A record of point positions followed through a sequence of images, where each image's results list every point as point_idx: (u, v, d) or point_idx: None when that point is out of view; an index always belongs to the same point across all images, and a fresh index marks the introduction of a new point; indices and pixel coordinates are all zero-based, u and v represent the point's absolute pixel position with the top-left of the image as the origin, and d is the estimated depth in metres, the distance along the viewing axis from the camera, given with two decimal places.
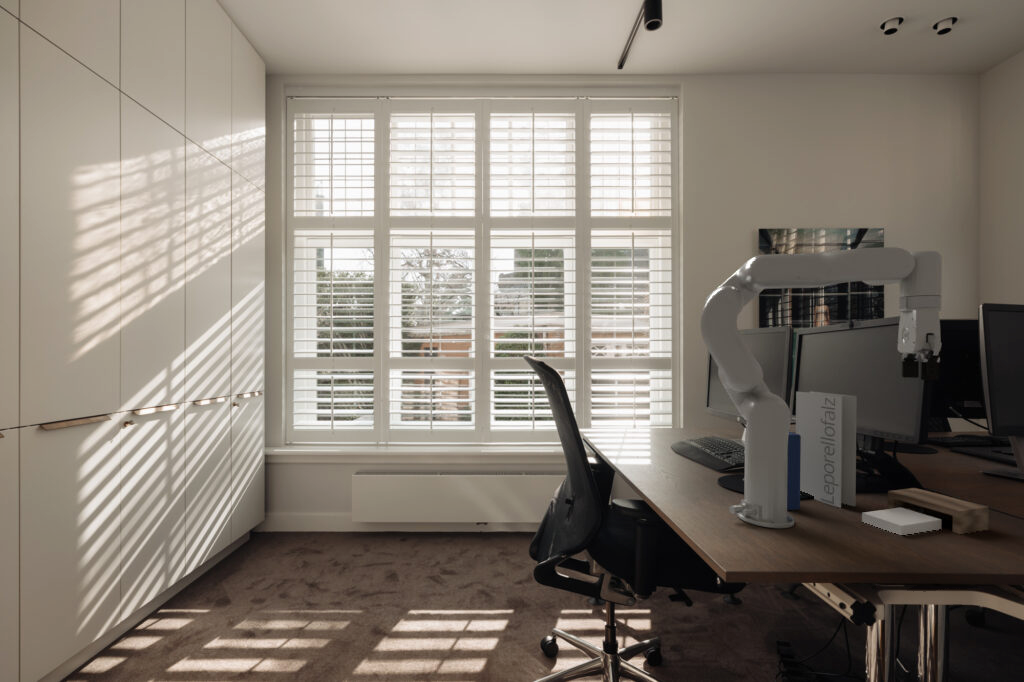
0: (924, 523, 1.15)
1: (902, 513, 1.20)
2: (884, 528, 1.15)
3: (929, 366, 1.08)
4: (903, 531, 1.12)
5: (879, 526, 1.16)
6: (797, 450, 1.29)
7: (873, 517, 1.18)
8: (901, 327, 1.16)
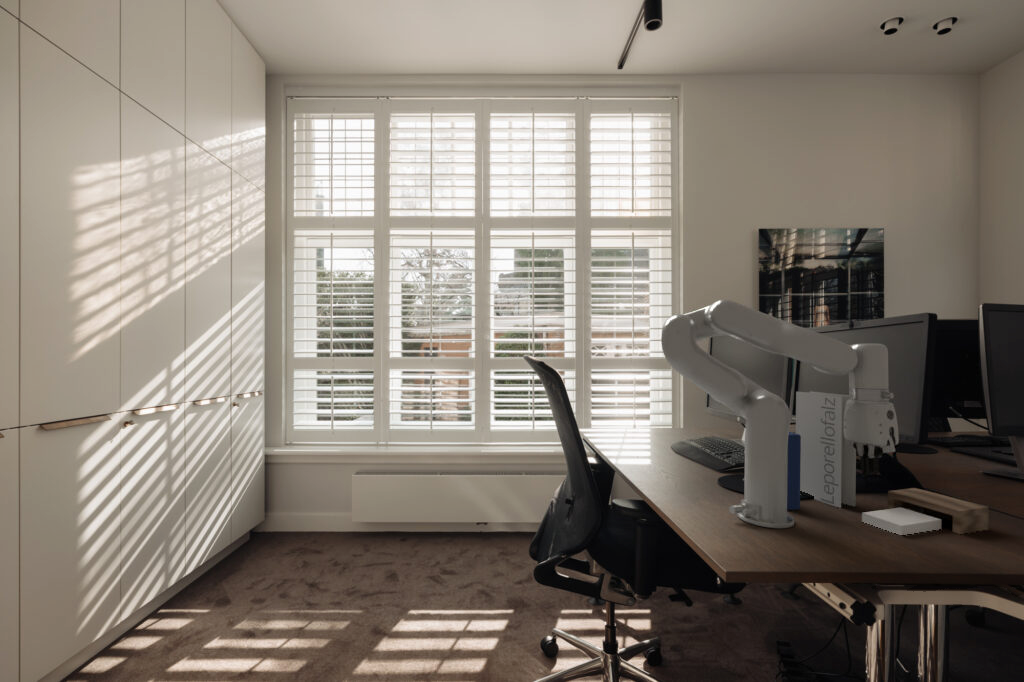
0: (924, 523, 1.15)
1: (902, 513, 1.20)
2: (884, 528, 1.15)
3: None
4: (903, 531, 1.12)
5: (879, 526, 1.16)
6: (797, 450, 1.29)
7: (873, 517, 1.18)
8: None
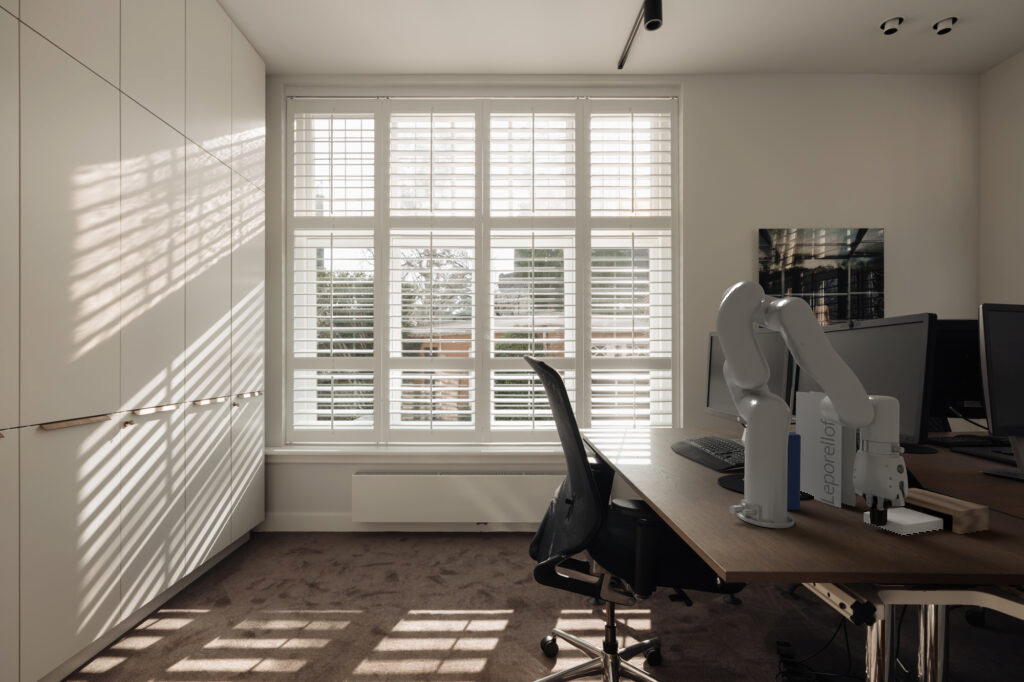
0: (926, 523, 1.15)
1: (904, 513, 1.21)
2: (886, 528, 1.16)
3: None
4: (904, 530, 1.12)
5: (881, 526, 1.17)
6: (797, 450, 1.29)
7: None
8: None
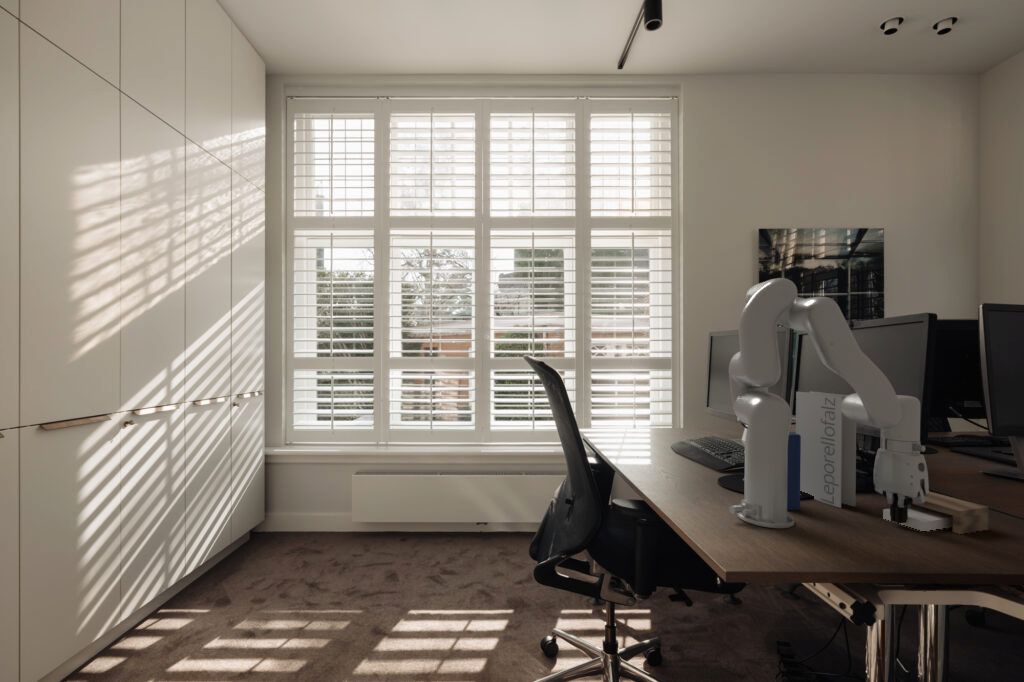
0: (945, 519, 1.17)
1: (922, 510, 1.23)
2: (905, 524, 1.18)
3: None
4: (924, 527, 1.15)
5: None
6: (797, 450, 1.29)
7: None
8: None
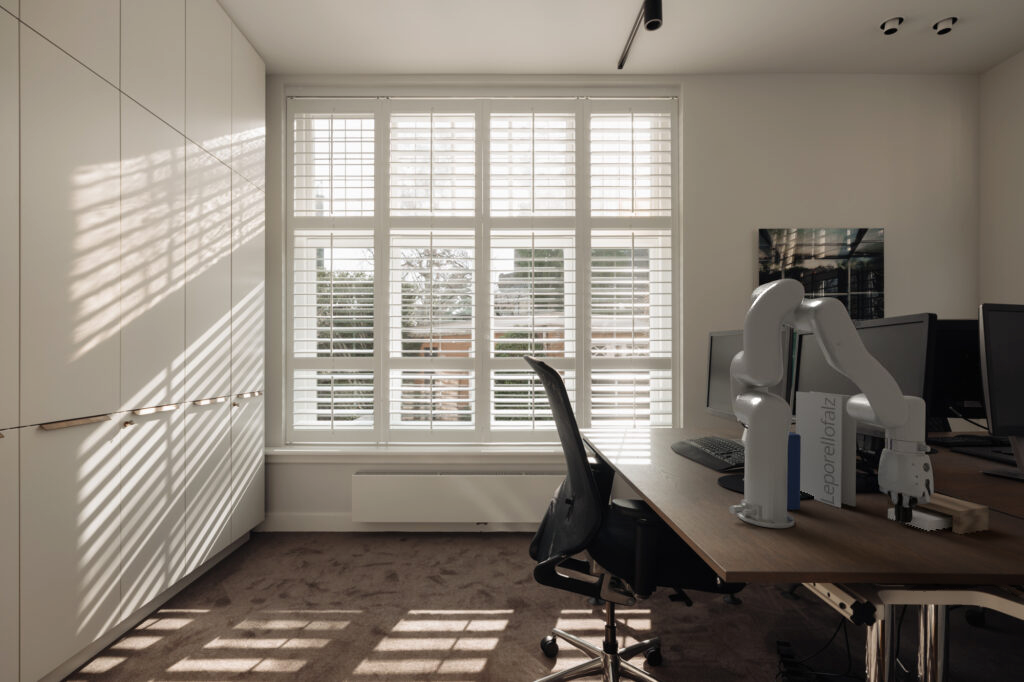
0: (949, 519, 1.18)
1: (927, 509, 1.24)
2: (910, 523, 1.19)
3: None
4: (929, 526, 1.15)
5: None
6: (797, 450, 1.29)
7: None
8: None
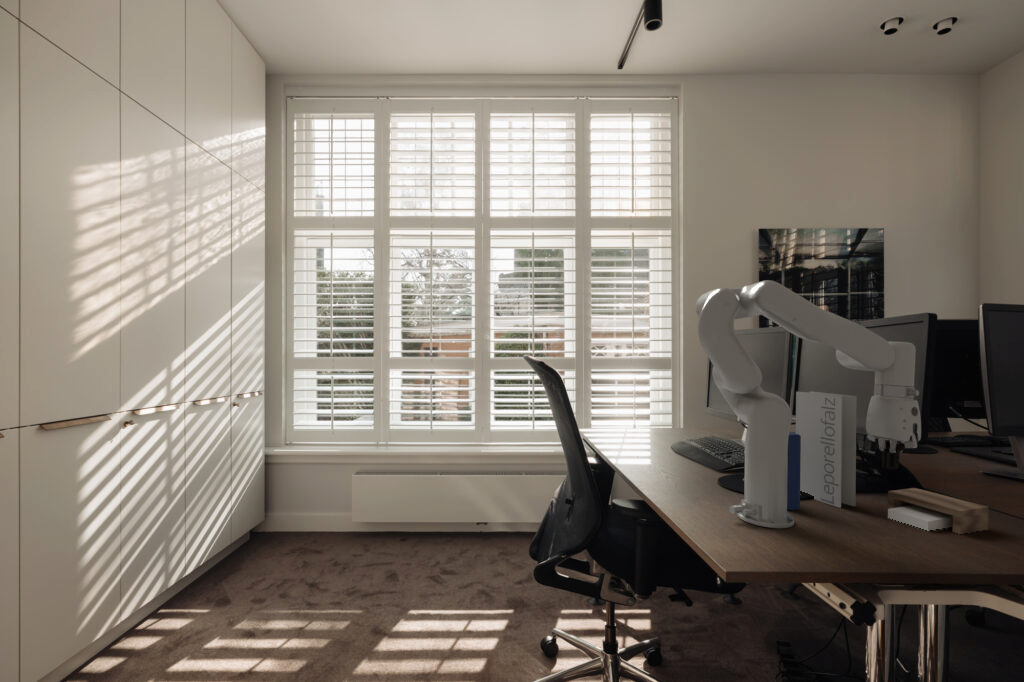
0: (949, 519, 1.18)
1: (927, 509, 1.24)
2: (910, 523, 1.19)
3: None
4: (929, 526, 1.15)
5: (905, 522, 1.20)
6: (797, 450, 1.29)
7: (899, 513, 1.21)
8: None
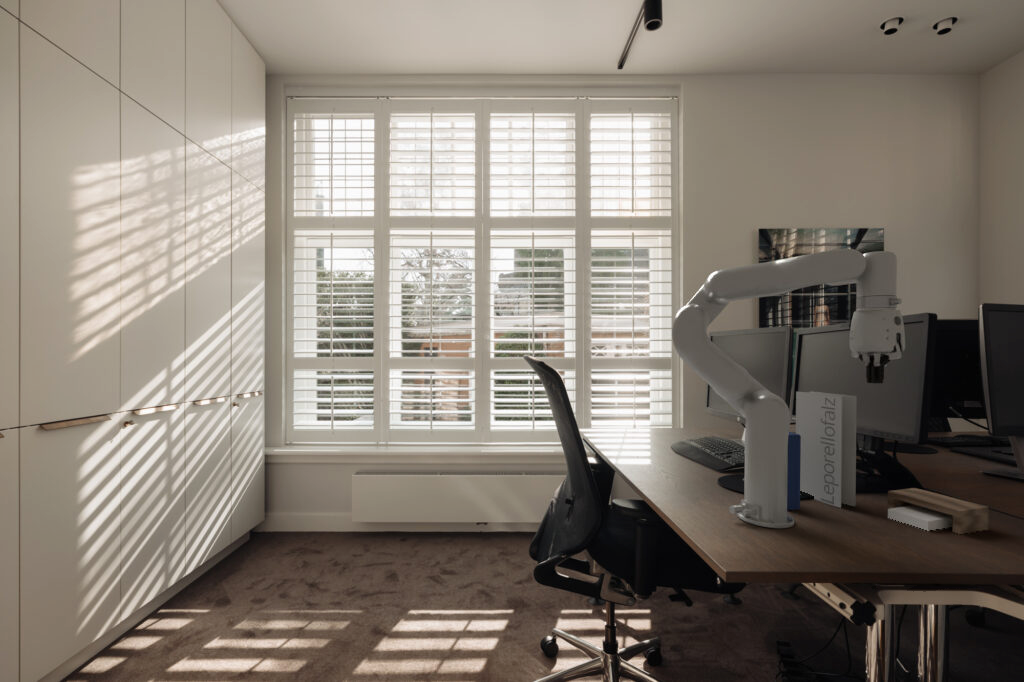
0: (949, 519, 1.18)
1: (927, 509, 1.24)
2: (910, 523, 1.19)
3: None
4: (929, 526, 1.15)
5: (905, 522, 1.20)
6: (797, 450, 1.29)
7: (899, 513, 1.21)
8: None
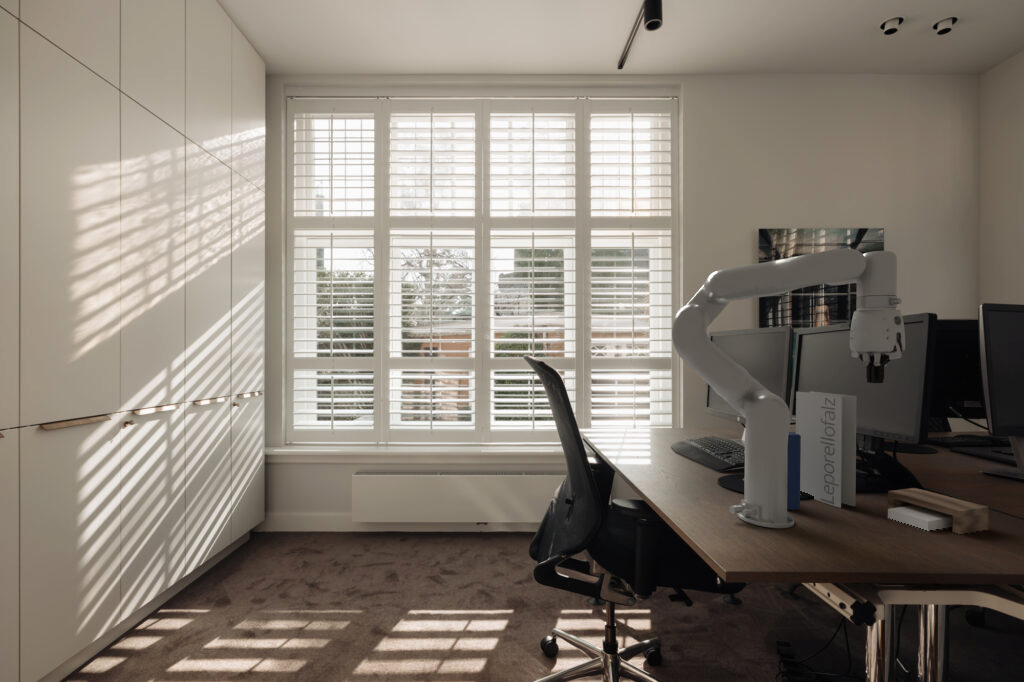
0: (949, 519, 1.18)
1: (927, 509, 1.24)
2: (910, 523, 1.19)
3: None
4: (929, 526, 1.15)
5: (905, 522, 1.20)
6: (797, 450, 1.29)
7: (899, 513, 1.21)
8: None
